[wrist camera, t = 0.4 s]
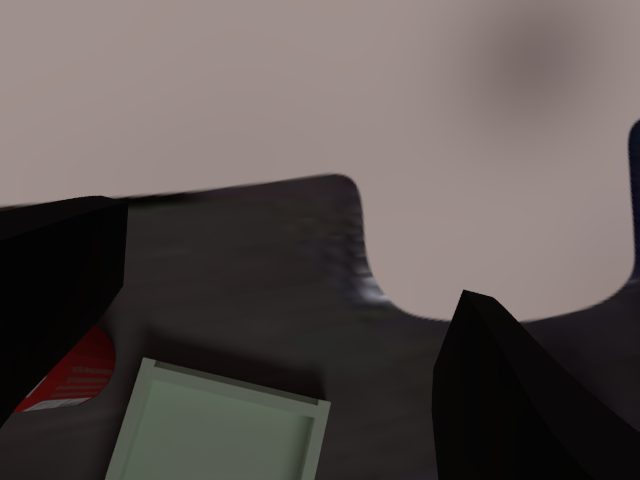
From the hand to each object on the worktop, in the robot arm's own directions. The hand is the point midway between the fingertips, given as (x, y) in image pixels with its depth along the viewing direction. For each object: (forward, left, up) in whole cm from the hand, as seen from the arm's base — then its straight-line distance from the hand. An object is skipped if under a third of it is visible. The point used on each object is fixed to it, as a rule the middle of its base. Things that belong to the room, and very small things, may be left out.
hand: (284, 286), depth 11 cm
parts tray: (-8, +1, -28) cm, 29 cm away
